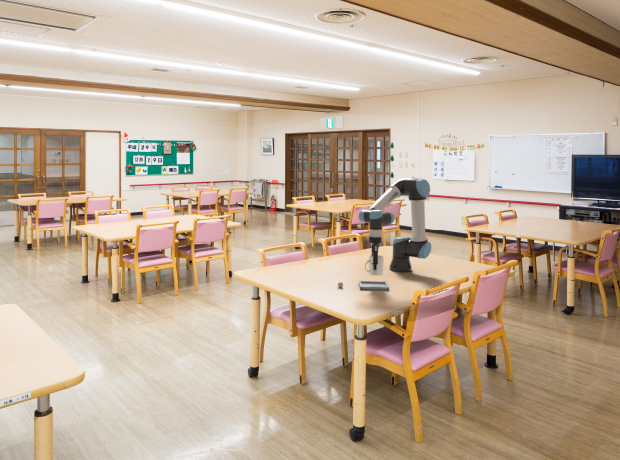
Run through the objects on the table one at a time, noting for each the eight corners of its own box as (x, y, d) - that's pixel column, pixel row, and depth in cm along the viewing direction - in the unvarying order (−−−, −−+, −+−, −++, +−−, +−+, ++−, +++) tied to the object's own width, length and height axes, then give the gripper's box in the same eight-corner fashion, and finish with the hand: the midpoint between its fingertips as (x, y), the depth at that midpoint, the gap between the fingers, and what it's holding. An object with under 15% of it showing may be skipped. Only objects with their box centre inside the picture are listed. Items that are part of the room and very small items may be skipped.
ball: (343, 286, 294) (343, 281, 293) (343, 288, 291) (343, 282, 290) (337, 286, 294) (337, 281, 293) (337, 288, 291) (337, 282, 290)
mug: (361, 273, 294) (361, 255, 292) (378, 271, 299) (378, 254, 297) (368, 276, 286) (368, 258, 285) (385, 274, 291) (386, 257, 289)
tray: (386, 284, 301) (386, 281, 301) (388, 290, 287) (389, 287, 287) (358, 283, 302) (358, 280, 301) (360, 289, 288) (360, 286, 288)
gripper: (367, 233, 300) (366, 269, 304) (370, 238, 279) (368, 277, 283) (379, 233, 300) (378, 269, 303) (383, 239, 279) (381, 277, 282)
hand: (373, 273), depth 293 cm, fingers closed on mug, 9 cm apart
